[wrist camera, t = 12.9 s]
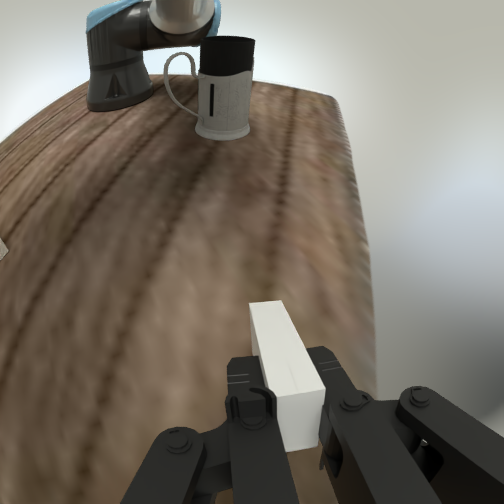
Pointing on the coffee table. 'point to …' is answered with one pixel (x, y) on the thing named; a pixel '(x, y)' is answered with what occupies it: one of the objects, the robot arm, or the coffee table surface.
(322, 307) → the coffee table surface
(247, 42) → the glass holder
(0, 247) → the box
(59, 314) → the coffee table surface
